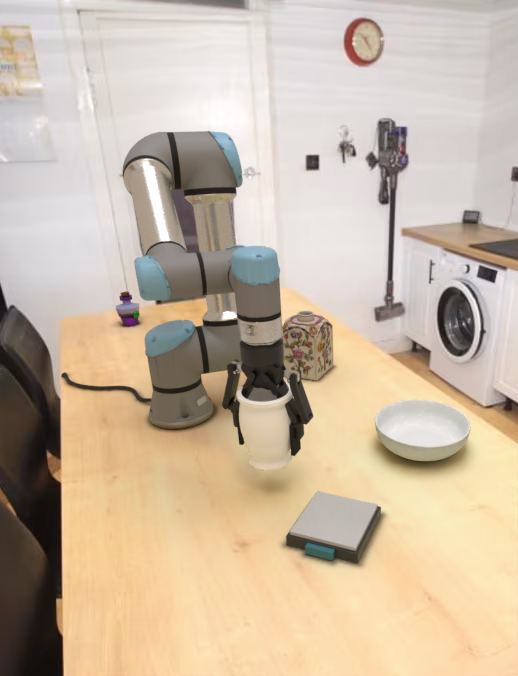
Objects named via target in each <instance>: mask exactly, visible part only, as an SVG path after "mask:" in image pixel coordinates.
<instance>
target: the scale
mask: <svg viewBox="0 0 518 676" xmlns="http://www.w3.org/2000/svg"><path fill="white" fill-rule="evenodd" d="M378 505H379V504H378V503H373V502H369V501H364V500H360V499H355V498H351V497H346V496H342V495H337V494H332V493H330V492H329V493H328V492H323V491H318V490H317V491H316V492H315V494H314V495H313V496H312V498H311V499H310V501H309V502H308V504H306V506H305V508H304V509H303V510H302V513H301V514H300V516H298V518H297V520H296V521H295V523H293V525H292V527H291V528H290V529H289V531H288V533H287V534H286V535H285V540H286V546H289V547H293V548H297V549H301V550H304V553H305V555H310V556H313V557H317V558H321V559H323V560H324V559H325V560H328V561H332V562H333V561H334V559H338V560H339V559H340V560H342V561H346V562H351V563H354V564H358V563H359V562H360V560H361V557H362V555H363V554H364V551H365V549H366V547H367V545H368V543H369V541H370V539H371V536H372V535H373V532H374V530H375V528H376V526H377V525H378V522H379V520H380V518H381V515H382V506H378Z"/></svg>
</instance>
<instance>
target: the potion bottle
mask: <svg viewBox="0 0 518 676" xmlns="http://www.w3.org/2000/svg"><path fill="white" fill-rule="evenodd" d="M132 300H133V295H132V294H130V291H122V292H120V295H119V301H120V302H122V303H120V304H118V305H115V310H116V313H117V315H118V317H119V318H120V320H121V322H122V326H123V327H127V328H128V327H136V326H137V325H139V317H140V315H141V314H140V303H137V302H131V301H132Z"/></svg>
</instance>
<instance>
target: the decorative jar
mask: <svg viewBox="0 0 518 676" xmlns="http://www.w3.org/2000/svg"><path fill="white" fill-rule="evenodd" d="M282 329H283V336H282V337H281V338H282V339H283V346H284V366H285V367H286V369H287V370H292V371H295V370H296V369H300V370H301V379H302V380H303V379H304V380H309V381H316V382H318V381H319V380H320V379H321V378H322V377H323V376H325V374H326V373H328V372H329V370H331V369H332V368H333V367H334V333H333V330H334V328H333V324H332V323H331V322H330V321H329V320H328V319H327V318H326V317H324V316H323V315H320V314H315V313H314V311H311V310H301V311H298V312H297V314H294V315H291V316H289V317H288V318H287V319H285V320H284V323H283V324H282Z"/></svg>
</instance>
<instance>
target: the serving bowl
mask: <svg viewBox="0 0 518 676" xmlns="http://www.w3.org/2000/svg"><path fill="white" fill-rule="evenodd" d="M374 426H375V431H376V434H377V437H378V439H379V441H380V442H381V443H382V445H383V446H384V447H385V448H387V449H388V450H389V451H390V452H391V453H393V454H395V455H396V456H399V457H401V458H404V459H408V460H411V461H417V462H435V461H440V460H444V459H447V458H449V457H451V456H453V455H455V454H456V453H458V452H459V451H461V450H462V449H463V447H464V446H465V445H466V443H467V441H468V439H469V436H470V433H471V431H472V425H471V421H470V419H469V418H468V416H467V415H466V414H465V413H464V412H462V411H461V410H460V409H458V408H456V407H454V406H453V405H450V404H447V403H444V402H440V401H436V400H431V399H422V398H421V399H419V398H417V399H415V398H414V399H412V398H411V399H403V400H398V401H394V402H391V403H389V404H386V405H385V406H383V407H382V408H380V409H379V410H378V411H377V412H376V414H375V416H374Z"/></svg>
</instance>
